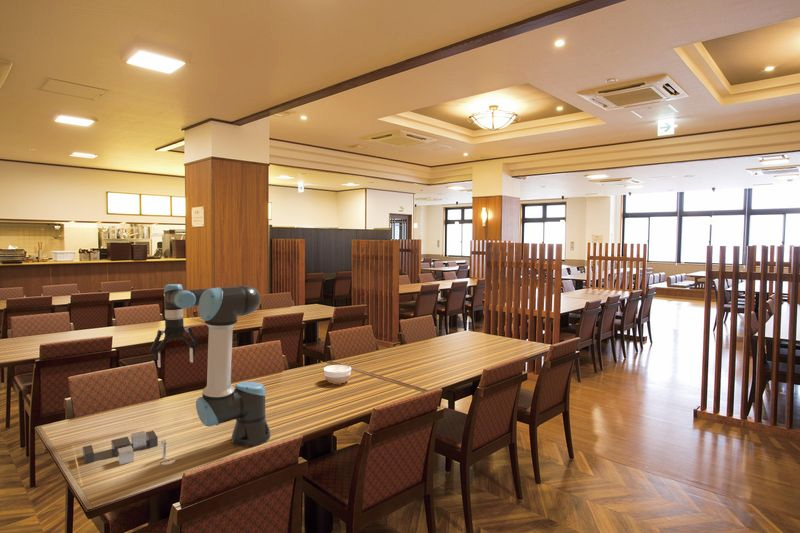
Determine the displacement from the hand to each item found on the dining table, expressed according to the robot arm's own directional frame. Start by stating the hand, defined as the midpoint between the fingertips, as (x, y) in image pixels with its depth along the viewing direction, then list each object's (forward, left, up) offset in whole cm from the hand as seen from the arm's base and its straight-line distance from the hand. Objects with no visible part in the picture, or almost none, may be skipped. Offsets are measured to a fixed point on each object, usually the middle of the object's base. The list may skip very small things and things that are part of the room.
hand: (175, 364), depth 211 cm
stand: (-41, +13, -26) cm, 50 cm away
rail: (-22, +25, -25) cm, 42 cm away
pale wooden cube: (-33, +25, -26) cm, 49 cm away
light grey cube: (-22, +19, -25) cm, 38 cm away
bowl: (+2, -87, -26) cm, 91 cm away
